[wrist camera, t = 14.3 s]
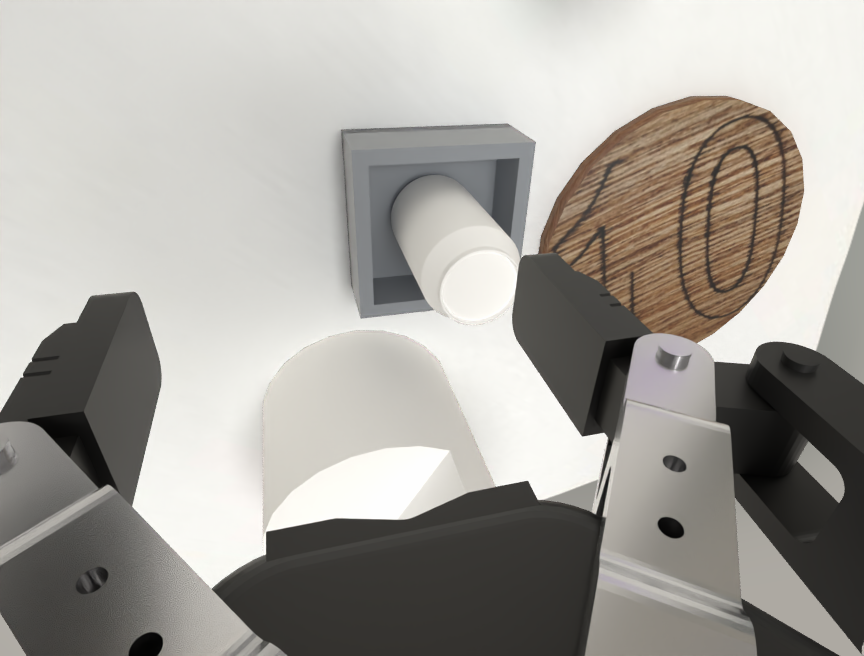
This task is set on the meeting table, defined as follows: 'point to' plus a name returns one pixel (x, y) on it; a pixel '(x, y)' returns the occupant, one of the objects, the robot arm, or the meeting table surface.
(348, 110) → the meeting table surface
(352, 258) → the bin
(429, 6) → the meeting table surface
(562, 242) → the trivet
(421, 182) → the beverage can
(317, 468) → the white quarter cylinder
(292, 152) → the meeting table surface
